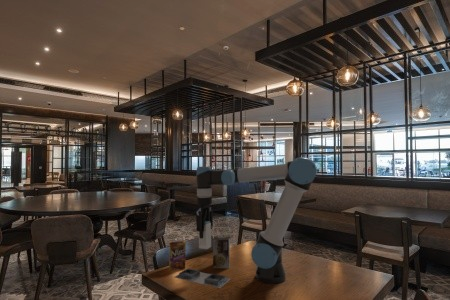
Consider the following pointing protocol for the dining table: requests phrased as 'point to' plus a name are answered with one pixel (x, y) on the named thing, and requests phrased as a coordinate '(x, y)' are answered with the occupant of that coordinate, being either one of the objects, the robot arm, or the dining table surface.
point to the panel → (203, 278)
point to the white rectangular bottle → (206, 236)
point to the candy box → (177, 254)
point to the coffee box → (221, 252)
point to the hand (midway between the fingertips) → (205, 243)
